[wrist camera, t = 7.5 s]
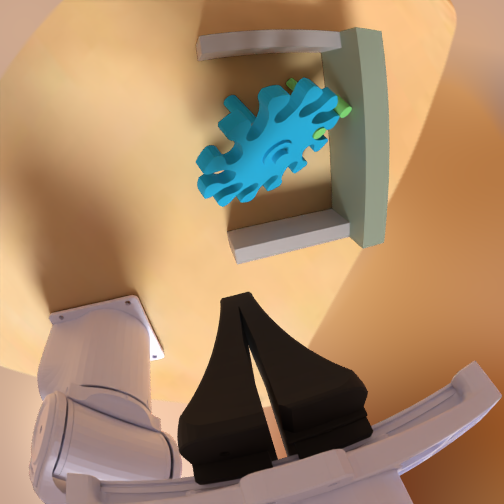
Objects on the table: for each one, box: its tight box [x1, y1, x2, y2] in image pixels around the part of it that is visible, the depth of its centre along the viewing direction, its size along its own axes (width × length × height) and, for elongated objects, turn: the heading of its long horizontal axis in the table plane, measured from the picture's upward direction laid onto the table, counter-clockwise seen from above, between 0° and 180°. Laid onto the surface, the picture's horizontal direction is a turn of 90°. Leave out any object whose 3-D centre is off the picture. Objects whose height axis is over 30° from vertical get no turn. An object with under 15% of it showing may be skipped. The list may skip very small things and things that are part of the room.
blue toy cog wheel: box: [196, 77, 352, 207], centre depth 17 cm, size 11×6×10 cm
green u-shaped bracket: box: [196, 27, 389, 264], centre depth 18 cm, size 11×15×5 cm
